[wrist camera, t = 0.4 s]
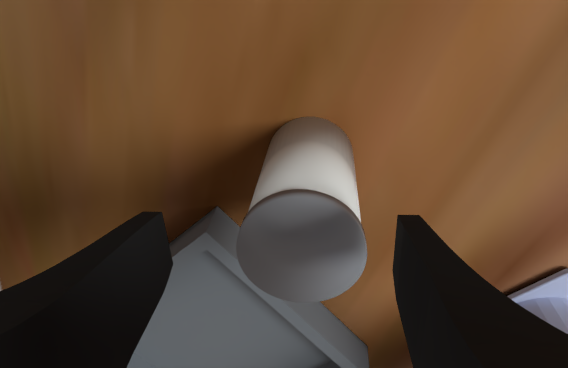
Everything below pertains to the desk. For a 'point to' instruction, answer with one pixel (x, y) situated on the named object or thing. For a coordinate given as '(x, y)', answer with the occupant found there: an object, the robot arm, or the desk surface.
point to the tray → (235, 314)
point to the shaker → (304, 216)
